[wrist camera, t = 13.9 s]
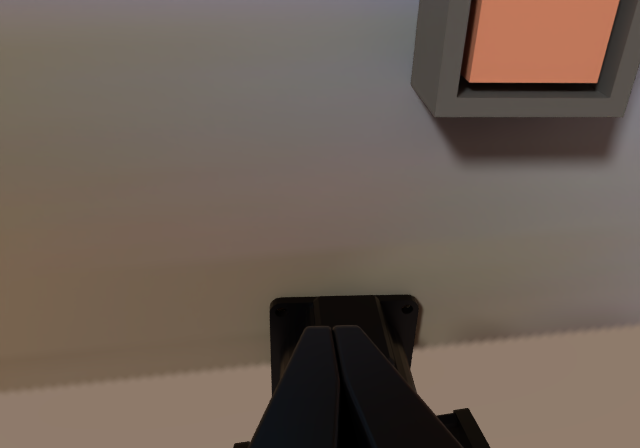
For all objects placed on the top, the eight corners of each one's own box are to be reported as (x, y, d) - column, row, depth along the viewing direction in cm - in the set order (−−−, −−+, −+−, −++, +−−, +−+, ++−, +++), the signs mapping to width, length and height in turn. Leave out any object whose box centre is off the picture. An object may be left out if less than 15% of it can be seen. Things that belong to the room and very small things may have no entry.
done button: (567, 66, 19) (597, 83, 17) (451, 65, 19) (469, 82, 17) (599, -68, 17) (636, -64, 15) (470, -70, 17) (492, -67, 15)
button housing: (571, 85, 21) (623, 117, 18) (410, 84, 20) (434, 117, 17) (619, -105, 18) (690, -106, 15) (430, -110, 17) (464, -112, 14)
